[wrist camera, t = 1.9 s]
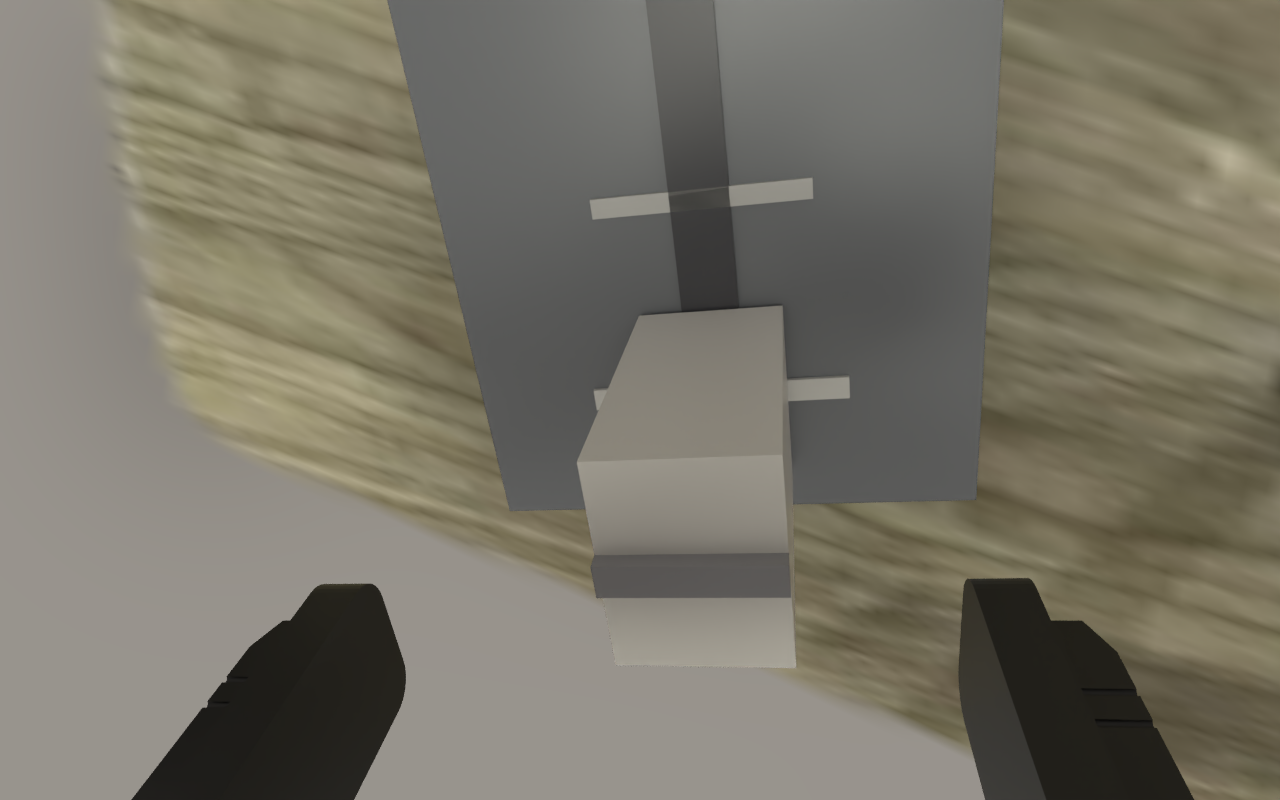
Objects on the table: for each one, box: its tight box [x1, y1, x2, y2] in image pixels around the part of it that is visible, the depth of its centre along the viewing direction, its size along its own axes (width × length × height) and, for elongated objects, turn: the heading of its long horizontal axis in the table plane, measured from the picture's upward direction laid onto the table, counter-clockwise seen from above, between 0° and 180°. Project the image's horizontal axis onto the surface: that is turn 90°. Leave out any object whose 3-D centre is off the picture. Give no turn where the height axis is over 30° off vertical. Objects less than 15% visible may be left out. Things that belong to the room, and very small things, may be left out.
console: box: [387, 0, 1004, 511], centre depth 17 cm, size 11×19×3 cm, turn 8°
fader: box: [577, 306, 796, 668], centre depth 15 cm, size 3×4×6 cm
